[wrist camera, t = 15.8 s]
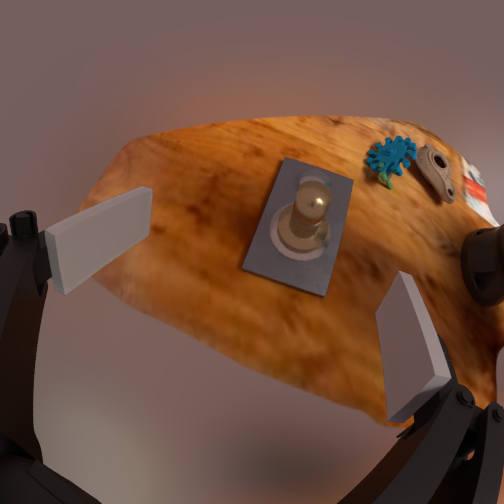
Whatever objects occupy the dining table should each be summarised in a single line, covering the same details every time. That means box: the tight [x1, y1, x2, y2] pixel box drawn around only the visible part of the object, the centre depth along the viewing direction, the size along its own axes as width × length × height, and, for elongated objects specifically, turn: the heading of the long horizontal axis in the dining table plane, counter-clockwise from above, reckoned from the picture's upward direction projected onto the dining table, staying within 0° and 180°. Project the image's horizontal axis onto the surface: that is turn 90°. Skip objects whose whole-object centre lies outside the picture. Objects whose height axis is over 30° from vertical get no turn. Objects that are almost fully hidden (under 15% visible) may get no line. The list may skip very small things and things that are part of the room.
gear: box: [366, 136, 417, 189], centre depth 42 cm, size 11×6×10 cm
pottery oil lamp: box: [415, 143, 455, 204], centre depth 41 cm, size 9×12×7 cm
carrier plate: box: [242, 157, 354, 298], centre depth 39 cm, size 12×20×2 cm, turn 160°
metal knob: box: [277, 180, 332, 254], centre depth 34 cm, size 7×7×10 cm
